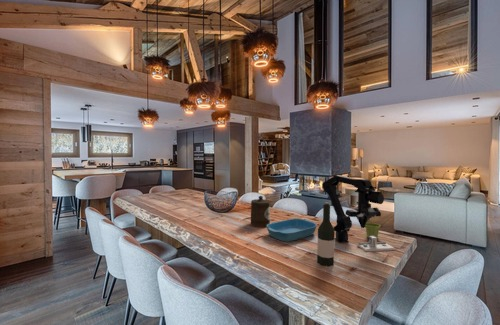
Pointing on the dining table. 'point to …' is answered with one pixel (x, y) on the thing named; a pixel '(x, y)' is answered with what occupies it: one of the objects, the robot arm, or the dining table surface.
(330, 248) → the wine bottle
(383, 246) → the plate
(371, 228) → the plant pot
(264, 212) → the wooden container
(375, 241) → the slider
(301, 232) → the casserole dish
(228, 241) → the dining table surface
